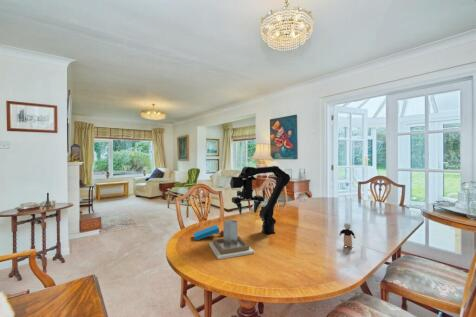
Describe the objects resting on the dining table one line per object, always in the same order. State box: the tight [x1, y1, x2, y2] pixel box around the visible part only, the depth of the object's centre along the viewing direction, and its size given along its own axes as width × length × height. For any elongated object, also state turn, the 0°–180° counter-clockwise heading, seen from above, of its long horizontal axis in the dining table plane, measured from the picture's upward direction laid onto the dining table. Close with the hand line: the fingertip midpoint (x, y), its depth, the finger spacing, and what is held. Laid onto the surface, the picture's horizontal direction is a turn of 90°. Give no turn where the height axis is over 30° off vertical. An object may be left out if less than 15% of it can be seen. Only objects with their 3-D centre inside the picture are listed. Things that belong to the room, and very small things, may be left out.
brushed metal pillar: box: [223, 218, 238, 248], centre depth 114 cm, size 5×5×13 cm
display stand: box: [208, 235, 255, 260], centre depth 115 cm, size 18×18×3 cm
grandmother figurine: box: [338, 222, 357, 248], centre depth 117 cm, size 8×4×13 cm, turn 71°
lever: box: [193, 224, 224, 241], centre depth 132 cm, size 7×7×18 cm
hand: (247, 213), depth 134 cm, fingers open, 9 cm apart
